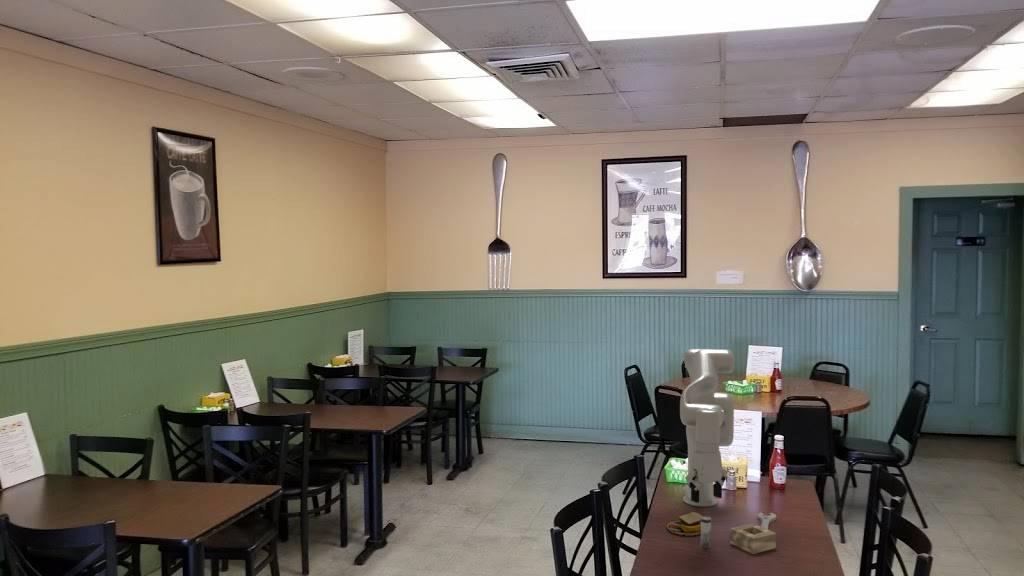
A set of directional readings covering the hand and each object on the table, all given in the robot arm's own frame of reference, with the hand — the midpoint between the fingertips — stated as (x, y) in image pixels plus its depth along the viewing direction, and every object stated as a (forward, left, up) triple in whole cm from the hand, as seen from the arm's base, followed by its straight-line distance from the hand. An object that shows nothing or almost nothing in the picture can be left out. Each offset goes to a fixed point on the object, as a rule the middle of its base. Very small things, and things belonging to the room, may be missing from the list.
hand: (706, 499), depth 247 cm
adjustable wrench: (-4, +30, -16) cm, 35 cm away
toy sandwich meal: (-15, +5, -16) cm, 23 cm away
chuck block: (+7, +14, -16) cm, 22 cm away
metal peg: (0, 0, -16) cm, 16 cm away
